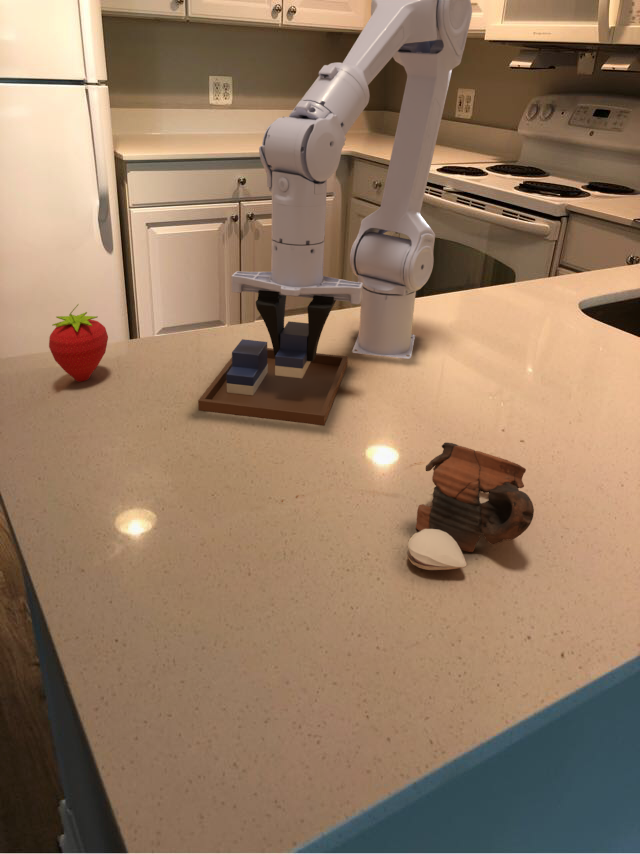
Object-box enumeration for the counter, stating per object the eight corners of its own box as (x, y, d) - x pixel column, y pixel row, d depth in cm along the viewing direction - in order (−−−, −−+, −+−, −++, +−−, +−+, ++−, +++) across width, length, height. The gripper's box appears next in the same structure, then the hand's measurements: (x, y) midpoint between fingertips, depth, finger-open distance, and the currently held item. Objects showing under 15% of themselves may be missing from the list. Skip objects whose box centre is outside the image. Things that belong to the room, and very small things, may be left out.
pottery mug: (386, 518, 64) (414, 431, 63) (460, 536, 69) (486, 455, 68) (479, 564, 53) (513, 460, 53) (557, 581, 58) (589, 486, 58)
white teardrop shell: (424, 540, 60) (428, 515, 59) (477, 565, 57) (481, 540, 56) (396, 564, 57) (399, 539, 56) (450, 592, 54) (454, 566, 53)
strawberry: (123, 375, 87) (116, 297, 83) (84, 399, 81) (73, 316, 76) (84, 367, 89) (74, 289, 84) (42, 389, 83) (29, 307, 78)
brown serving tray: (241, 357, 94) (241, 345, 93) (347, 369, 92) (347, 356, 91) (198, 414, 79) (197, 400, 78) (324, 430, 77) (324, 415, 76)
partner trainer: (243, 369, 89) (242, 338, 87) (267, 372, 88) (268, 340, 86) (226, 392, 83) (225, 359, 81) (253, 395, 82) (253, 362, 80)
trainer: (288, 353, 86) (288, 320, 84) (314, 355, 86) (315, 322, 84) (274, 375, 80) (275, 340, 78) (302, 378, 80) (303, 343, 78)
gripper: (222, 241, 74) (224, 362, 80) (360, 253, 72) (351, 376, 78) (240, 227, 80) (242, 340, 86) (368, 238, 78) (360, 353, 84)
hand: (295, 356), depth 83 cm, fingers closed on trainer, 3 cm apart
